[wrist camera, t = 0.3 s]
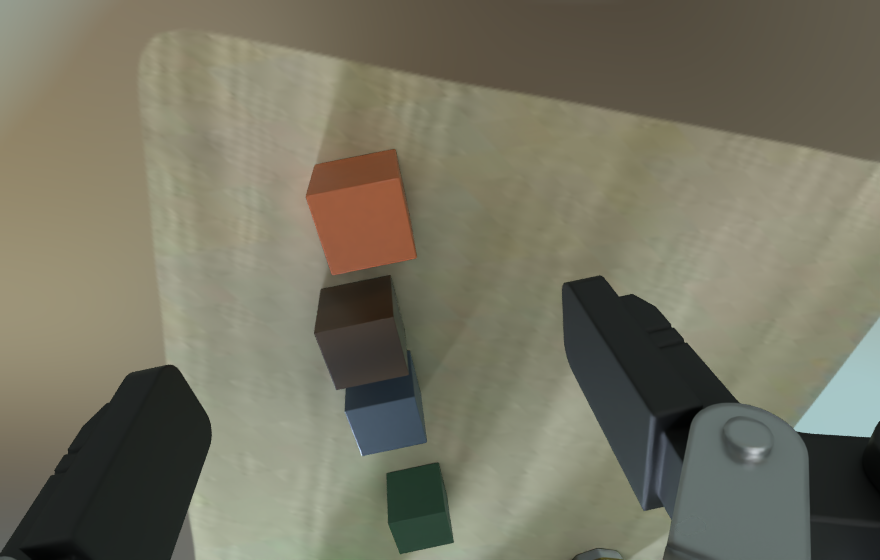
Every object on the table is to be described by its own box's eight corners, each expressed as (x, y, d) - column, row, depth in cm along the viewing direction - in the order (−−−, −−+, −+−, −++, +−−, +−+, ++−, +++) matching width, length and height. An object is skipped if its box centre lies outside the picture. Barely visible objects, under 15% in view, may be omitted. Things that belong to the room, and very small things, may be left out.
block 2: (320, 288, 31) (313, 333, 27) (390, 274, 31) (393, 316, 27) (339, 342, 34) (336, 390, 30) (404, 329, 34) (409, 375, 30)
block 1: (313, 164, 27) (305, 196, 23) (395, 148, 27) (399, 177, 23) (336, 236, 29) (332, 276, 26) (411, 221, 29) (417, 258, 26)
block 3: (346, 362, 35) (344, 411, 31) (409, 349, 35) (414, 396, 31) (362, 406, 37) (361, 456, 33) (421, 394, 37) (427, 443, 33)
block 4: (386, 473, 42) (388, 523, 38) (438, 462, 42) (445, 511, 38) (397, 503, 44) (399, 554, 40) (446, 493, 44) (453, 542, 40)
